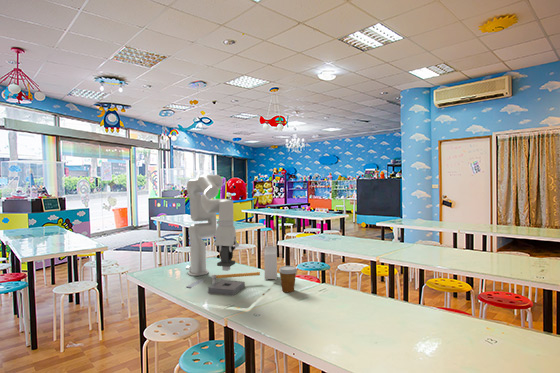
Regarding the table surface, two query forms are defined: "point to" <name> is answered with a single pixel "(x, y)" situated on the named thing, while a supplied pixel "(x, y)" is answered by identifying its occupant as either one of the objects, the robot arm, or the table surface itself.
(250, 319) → the table surface
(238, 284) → the socket
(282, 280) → the disposable coffee cup
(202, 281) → the mat
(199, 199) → the robot arm
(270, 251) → the milk carton
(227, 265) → the plug
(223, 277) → the orange rod with ball
